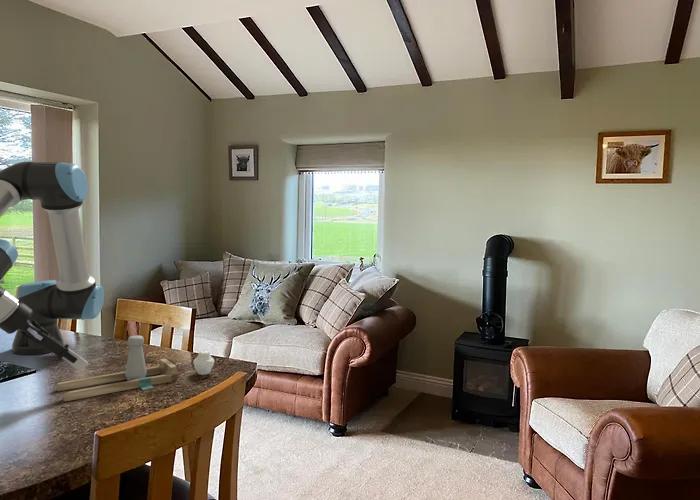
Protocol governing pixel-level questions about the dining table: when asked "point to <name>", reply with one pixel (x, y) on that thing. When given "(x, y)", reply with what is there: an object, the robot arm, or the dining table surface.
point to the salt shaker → (135, 359)
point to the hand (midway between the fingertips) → (84, 366)
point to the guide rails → (144, 383)
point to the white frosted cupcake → (203, 363)
